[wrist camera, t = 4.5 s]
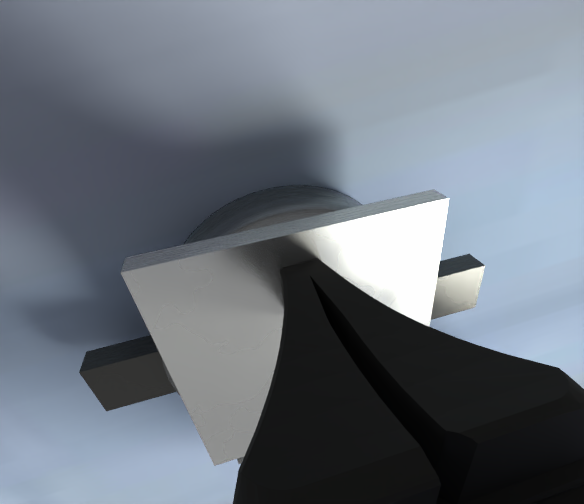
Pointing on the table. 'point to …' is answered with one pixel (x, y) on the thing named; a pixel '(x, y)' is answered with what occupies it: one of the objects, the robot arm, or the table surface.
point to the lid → (273, 300)
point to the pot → (233, 219)
